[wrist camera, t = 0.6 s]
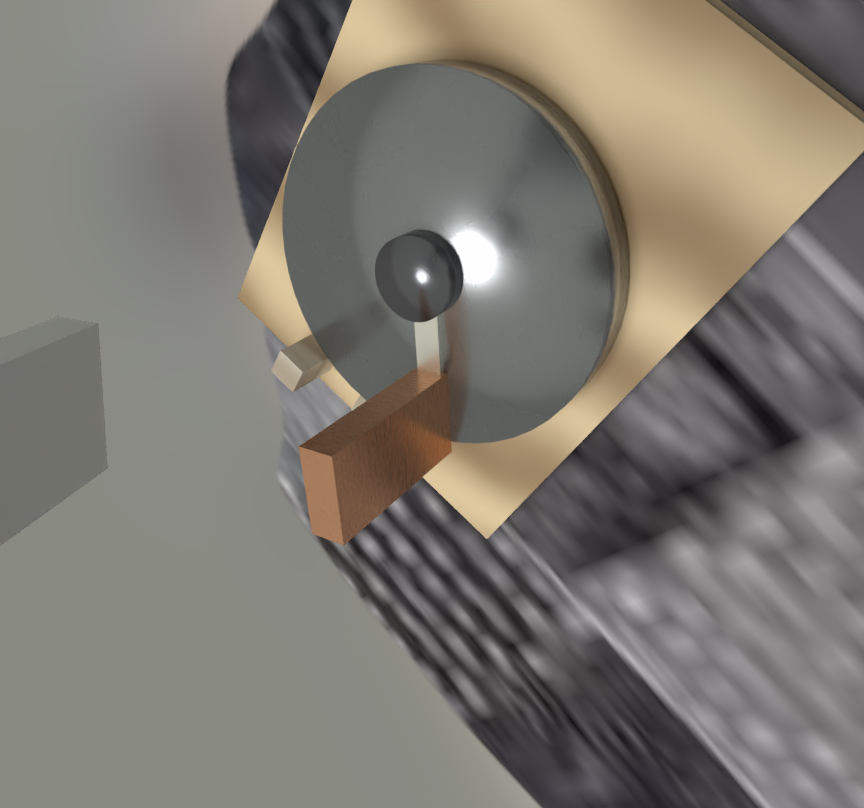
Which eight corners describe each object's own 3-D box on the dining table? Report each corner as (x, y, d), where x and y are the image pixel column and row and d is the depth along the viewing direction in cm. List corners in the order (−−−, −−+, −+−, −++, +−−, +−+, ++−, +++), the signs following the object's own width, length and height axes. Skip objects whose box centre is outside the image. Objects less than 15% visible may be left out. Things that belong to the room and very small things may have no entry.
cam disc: (289, 62, 35) (95, 88, 27) (642, 55, 26) (501, 89, 19) (331, 396, 42) (188, 486, 35) (616, 470, 34) (508, 608, 27)
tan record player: (456, -204, 28) (382, -227, 25) (884, 127, 25) (866, 152, 22) (256, 289, 45) (196, 315, 41) (500, 523, 42) (456, 571, 38)
